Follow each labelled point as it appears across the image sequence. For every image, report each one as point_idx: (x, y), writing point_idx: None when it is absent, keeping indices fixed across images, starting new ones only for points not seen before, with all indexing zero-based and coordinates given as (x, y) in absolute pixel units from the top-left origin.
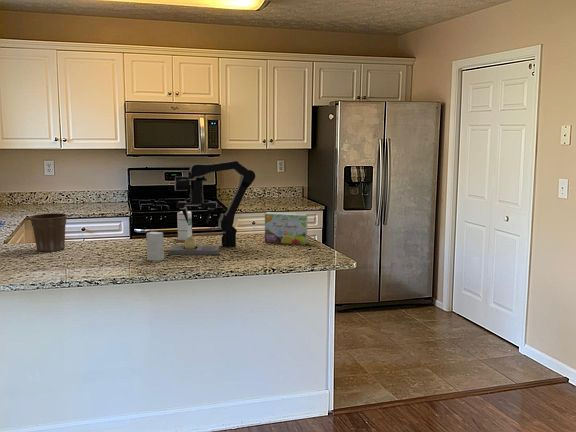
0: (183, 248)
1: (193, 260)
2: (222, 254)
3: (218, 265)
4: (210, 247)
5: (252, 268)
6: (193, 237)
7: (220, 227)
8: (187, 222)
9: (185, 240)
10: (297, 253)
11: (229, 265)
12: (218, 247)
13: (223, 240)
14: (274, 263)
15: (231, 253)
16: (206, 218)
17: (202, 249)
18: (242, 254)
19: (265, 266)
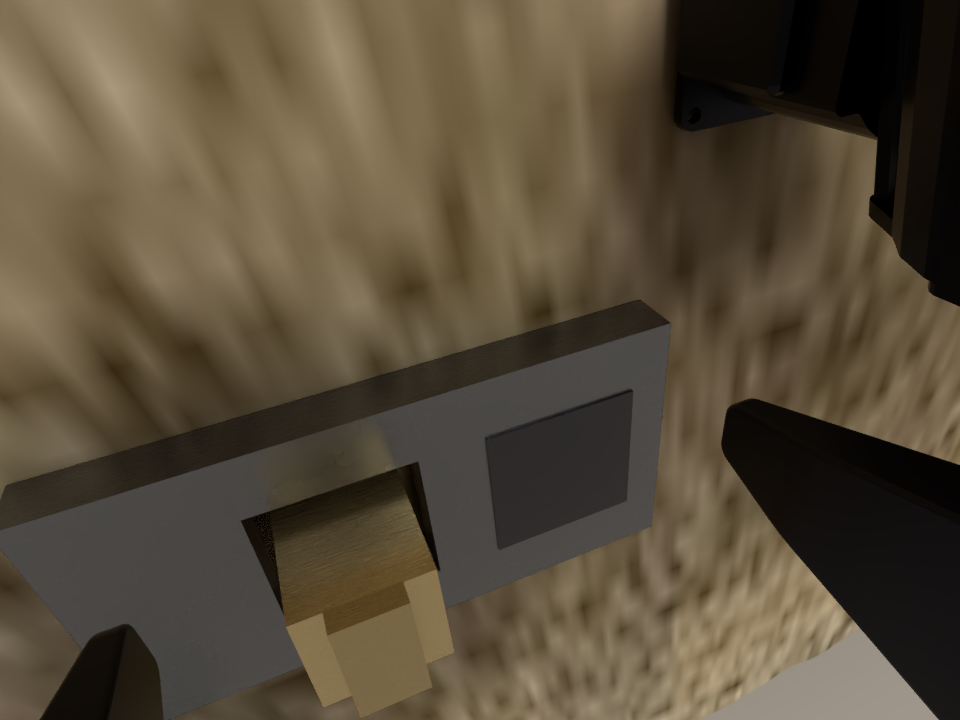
0: (279, 605)
1: (471, 698)
2: (666, 475)
3: (642, 697)
4: (579, 463)
5: (795, 656)
6: (411, 610)
7: (912, 187)
8: (144, 688)
9: (332, 701)
10: None
11: (698, 670)
12: (658, 424)
13: (747, 91)
14: None
15: None
16: (822, 582)
17: (510, 556)
18: None
19: None
